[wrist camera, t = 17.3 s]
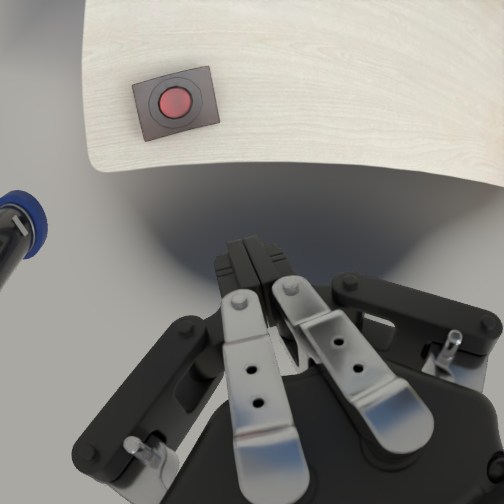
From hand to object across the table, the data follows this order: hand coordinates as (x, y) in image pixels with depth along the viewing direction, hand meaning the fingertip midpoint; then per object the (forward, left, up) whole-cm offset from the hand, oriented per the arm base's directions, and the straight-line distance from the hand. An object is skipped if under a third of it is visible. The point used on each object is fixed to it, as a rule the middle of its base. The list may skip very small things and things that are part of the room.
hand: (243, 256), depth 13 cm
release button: (-2, +7, -25) cm, 27 cm away
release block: (-2, +8, -29) cm, 30 cm away
